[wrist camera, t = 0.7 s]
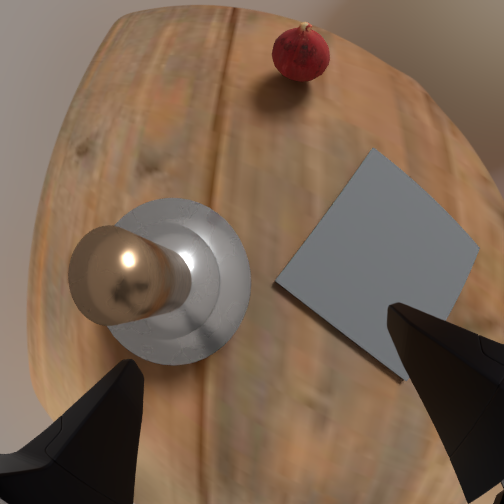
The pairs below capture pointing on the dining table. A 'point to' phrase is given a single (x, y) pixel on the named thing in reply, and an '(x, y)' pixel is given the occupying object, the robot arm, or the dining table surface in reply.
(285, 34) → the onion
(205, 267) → the cylinder on round base
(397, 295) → the mat
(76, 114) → the dining table surface
